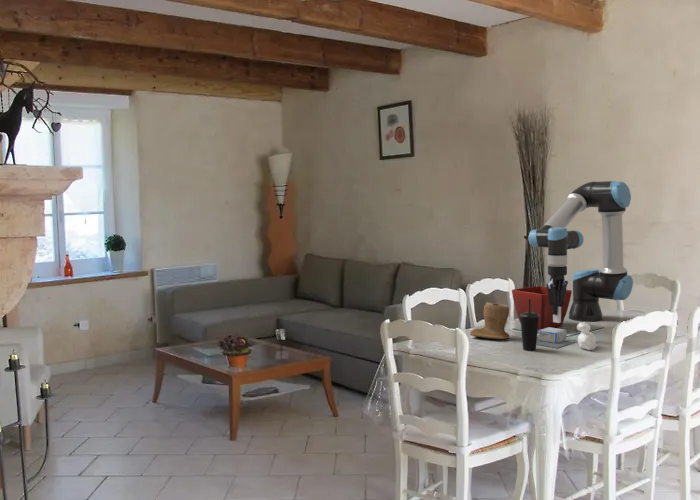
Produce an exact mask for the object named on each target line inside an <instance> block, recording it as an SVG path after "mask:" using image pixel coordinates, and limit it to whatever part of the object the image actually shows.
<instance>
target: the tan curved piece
mask: <svg viewBox="0 0 700 500" xmlns="http://www.w3.org/2000/svg"><path fill="white" fill-rule="evenodd" d="M509 314H510V308H509V305H506V304H502V303H494V302H486V303H485V304H484V306H483V318H484V319H483V320H484V326H483V327H481V328H473V329H472V330H471V331H470V332H469V334H470V336H472V337H476V338H480V339H481V338H482V339H488V340H489V339H490V340H505V339H509V338H510V334H509V333H508V332H506V331H505V328H506V324H507V322H508V318H509Z"/></svg>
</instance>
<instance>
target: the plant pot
mask: <svg viewBox="0 0 700 500" xmlns="http://www.w3.org/2000/svg"><path fill="white" fill-rule="evenodd" d="M572 293H573V290H571V289H566V295H565V302H564V304H562V305H564V306H563V307H562V306H561V323H556V322H553V307H552V306H550V303H549V296H548V289H547V286H542V285H541V286H540V285H539V286H537V285H536V286H531V287H529V286H528V287H522V288H521V287H519V288H515V289H511V295H512V300H513V305H514V308H515V311H516V314H517V317H518V321H519V323H520V324H521V320H520V316H519V315H520V314H522V313H524V312H529V299H531V304H530V312H534V313H536V314H539V315H540V317H539V322H538V331H539V330H541V329H545V328H548V327H551V328H555V327H558V328H561V327H562V325H563V324H564V320H565V318H566V314H567V313H568V310H569V306H570V302H571V298H572V297H571V296H572Z"/></svg>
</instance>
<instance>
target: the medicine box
mask: <svg viewBox="0 0 700 500" xmlns="http://www.w3.org/2000/svg"><path fill="white" fill-rule="evenodd" d="M538 336H539V340H540V341H545V342H551V343H558V342H561V341H564V340H566V341H567V329H565V328H564V329H563V328H559V327H558V328H551V327H548V328H545V329H541V330H539V329H538Z"/></svg>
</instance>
